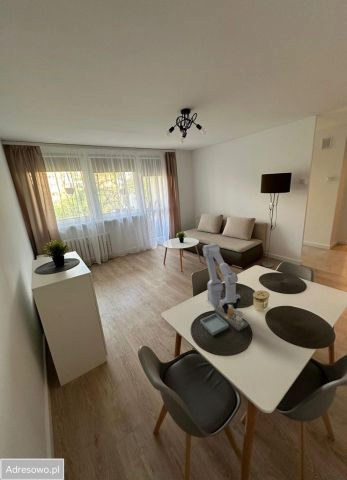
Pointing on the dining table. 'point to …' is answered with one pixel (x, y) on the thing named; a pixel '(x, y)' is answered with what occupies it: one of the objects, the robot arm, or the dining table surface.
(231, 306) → the marked fuse
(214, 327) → the tray
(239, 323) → the fuse
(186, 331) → the dining table surface
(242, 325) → the fuse block
